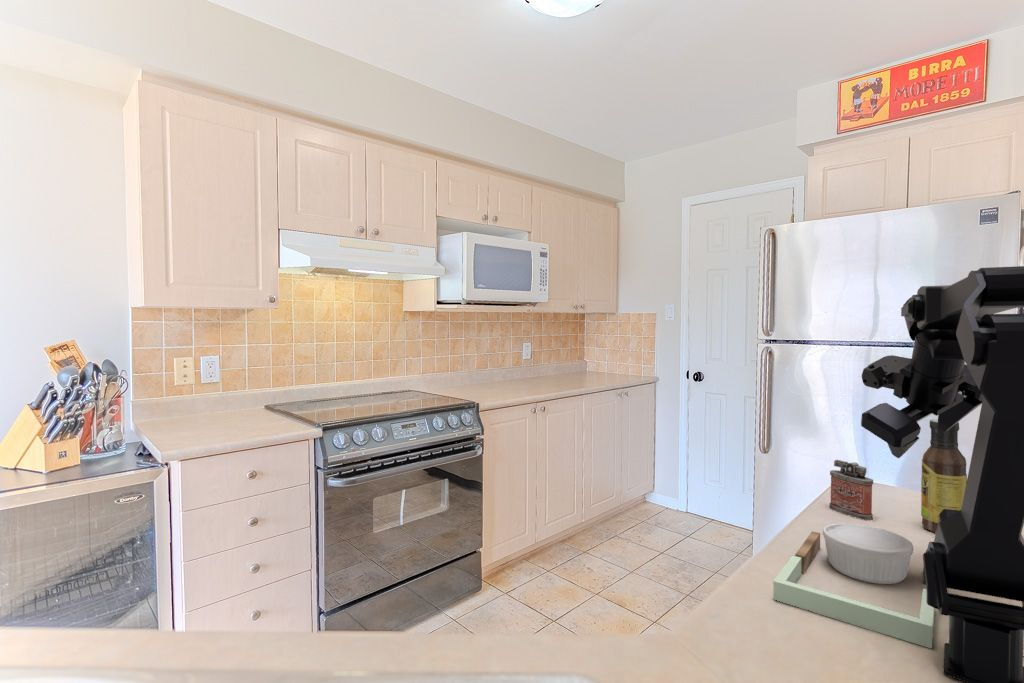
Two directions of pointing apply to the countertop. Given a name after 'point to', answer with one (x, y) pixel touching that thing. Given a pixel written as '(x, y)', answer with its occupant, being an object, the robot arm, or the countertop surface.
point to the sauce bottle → (942, 475)
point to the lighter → (851, 490)
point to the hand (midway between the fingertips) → (919, 442)
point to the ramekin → (868, 552)
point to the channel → (815, 551)
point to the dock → (854, 608)
